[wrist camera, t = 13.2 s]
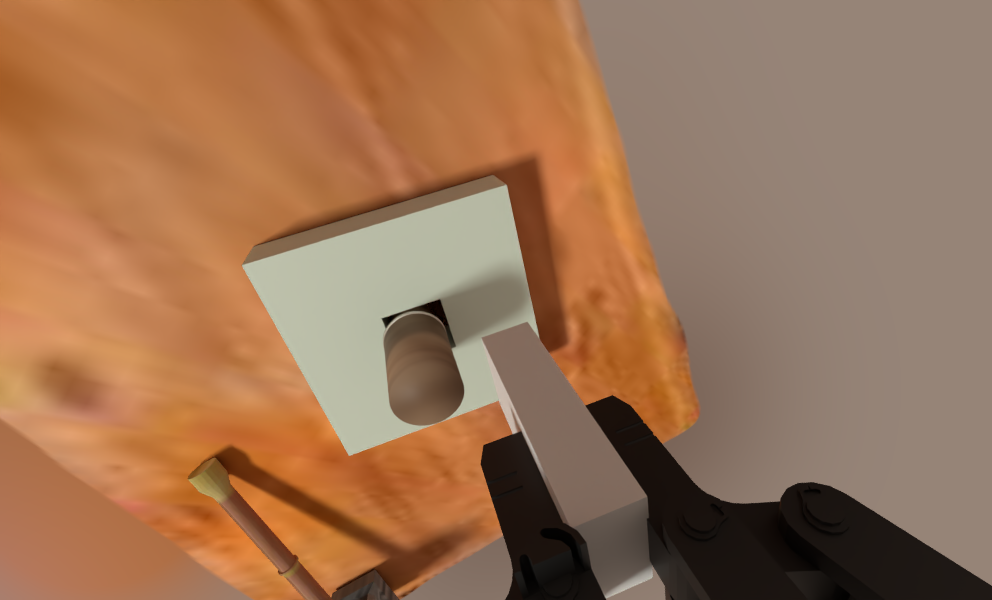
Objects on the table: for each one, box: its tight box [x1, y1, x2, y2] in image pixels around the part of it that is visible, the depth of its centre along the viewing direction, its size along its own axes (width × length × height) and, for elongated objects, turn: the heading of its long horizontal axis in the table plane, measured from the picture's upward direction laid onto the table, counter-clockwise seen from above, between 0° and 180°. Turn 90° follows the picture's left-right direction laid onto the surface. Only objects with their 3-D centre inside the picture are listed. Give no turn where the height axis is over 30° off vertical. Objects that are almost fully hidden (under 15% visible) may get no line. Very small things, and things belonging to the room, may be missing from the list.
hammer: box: [188, 458, 399, 600], centre depth 45 cm, size 6×16×30 cm
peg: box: [383, 303, 464, 426], centre depth 36 cm, size 5×5×12 cm
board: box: [242, 175, 539, 456], centre depth 39 cm, size 20×20×4 cm
